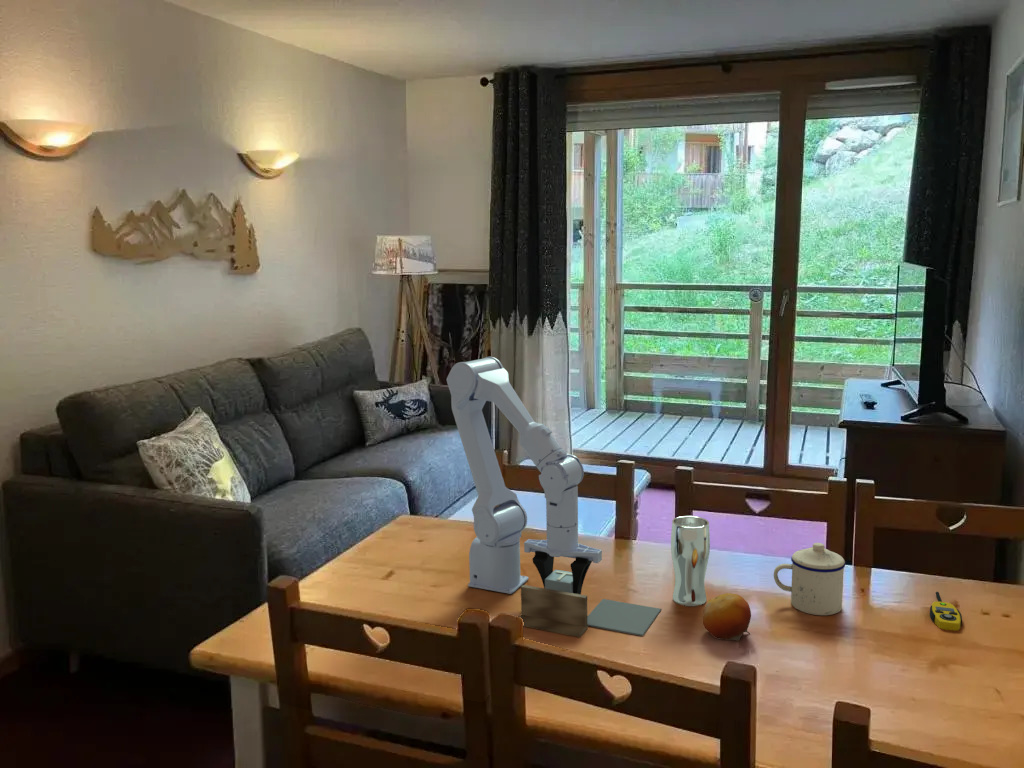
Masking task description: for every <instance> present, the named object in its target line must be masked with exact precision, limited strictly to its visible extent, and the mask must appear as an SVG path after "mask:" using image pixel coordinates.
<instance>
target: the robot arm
mask: <svg viewBox="0 0 1024 768" xmlns="http://www.w3.org/2000/svg"><path fill="white" fill-rule="evenodd" d="M509 376H510V374H509V372H508V371H507V369H505V367H504V366H503V364H502V362H501V361H500V360H499V359H498V358H496V357H494V356H486V357H484V358H480V359H474V360H468V361H460V362H457V363H455V364H453V366H452V367H451V369H450V371H449V373H448V375H447V376H446V383H447V386H448V389H449V393H450V399H451V401H450V403H451V411H452V414H453V417H454V421H455V424H456V428H457V430H458V434H459V437H460V440H461V443H462V448H463V450H464V453H465V456H466V460H467V463H468V466H469V469H470V472H471V476H472V479H473V483H474V486H475V489H476V492H477V498H476V500H475V502H474V504H473V506H472V508H471V511H472V515H473V530H474V533H475V536H476V537H475V538H473V540H472V541H471V544H470V547H469V553H468V554H469V555H468V559H469V583H468V585H467V586H468V587H470V588H474V589H475V588H476V589H480V590H482V589H483V590H486V591H493V592H498V593H503V594H508V595H509V594H510V595H512V594H513V593H515V592H516V591H517V590H518V589H519V588H521V586H522V585H525V583H527V581H528V580H529V576H526V575H521V545H520V544H521V543H520V542H521V537H522V531H524V530H525V529H526V527H527V524H528V515H527V512H526V510H525V508H524V507H523V505H522V504H521V502H520V500H519V498H518V496H517V493H515V492H514V491H513V490H511V489H509V488H508V487H506V484H505V481H504V477H503V475H502V471H501V467H500V465H499V460H498V458H497V455H496V451H495V449H494V446H493V442H492V439H491V435H490V432H489V428H488V426H487V422H486V419H485V417H484V413H483V409H484V406H485V404H486V403H487V402H492V403H493V404H494V405H495V406H496V407H497V409H499V410H500V412H501V413H502V414H503V416H505V418H506V419H507V420H508V421H509V422H510V424H511V425H512V426H513V427H514V428H515V430H517V432H518V433H519V438H518V442H519V443H518V444H519V445H520V446H521V448H522V449H523V451H525V453H526V454H527V456H528V457H529V459H530V460H531V461H532V463H533V464H534V465H535V467H536V468H537V469H538V471H539V472H540V474H539V475H538V480H539V483H540V486H541V488H543V489H542V490H543V492H544V498H545V506H546V507H545V508H546V509H545V512H546V518H545V519H546V539H530V538H528V539H527V540H526V541H524V542H523V547H524V549H523V550H524V553H529V554H530V553H531V552H532V553H534V556H533V557H532V563H533V565H534V567H535V568H536V570H537V571H538V574H539V576H540V579H541V582H542V585H543V588H545V579H546V578H547V577H548V576H549V575H550V574H551V573H552V572H553V571H554V562H555V558H560V557H563V558H570V559H575V560H574V561H572V562H571V563H570V570H571V572H572V576H573V593H574V594H580V595H582V589H583V586H584V581H585V579H586V578H585V577H586V575H587V573H588V571H589V568H590V566H591V564H592V563H594V564H599V563H600V562H601V561H602V560H603V558H602V557H603V550H602V549H600V548H595V547H591V546H588V545H584V544H582V543H579V505H578V504H579V493H578V492H579V491H578V489H579V487H578V485H579V484H580V483H581V482H582V481H583V478H584V475H585V474H584V473H585V472H584V466H583V464H582V462H581V461H580V459H579V457H577V456H576V455H574V454H572V453H571V454H570V453H568V451H566V450H565V449H563V448H562V446H561V445H560V444H559V442H558V441H557V439H556V438H555V437H554V436H553V434H552V433H553V431H552V430H551V429H550V427H549V426H546V425H545V424H544V423H540V422H535V421H534V419H533V417H532V415H531V414H530V413H529V411H528V409H527V408H526V406H525V404H524V403H523V402H522V400H521V398H520V397H519V395H518V394H517V392H516V391H515V389H514V388H513V386H512V384H511V383H510V379H509V378H510V377H509Z"/></svg>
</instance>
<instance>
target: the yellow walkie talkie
mask: <svg viewBox="0 0 1024 768" xmlns="http://www.w3.org/2000/svg"><path fill="white" fill-rule="evenodd" d="M935 596H936V599H937V601H933V602H932V604H931V605H930V607H929V618H930V620H931V621H932V623H934V624H935V626H936V627H938V628H939V629H941V630H946V631H955V632H956V631H959V630H960V629H961V626H962V622H963V617H962V614H961V611H960V610H959V608H956V606H955V605H953V604H952V603H950V602H947V601H946V602H945V601H942V598H941V595H940V592H939V591H936V592H935Z"/></svg>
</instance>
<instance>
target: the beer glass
mask: <svg viewBox="0 0 1024 768" xmlns="http://www.w3.org/2000/svg"><path fill="white" fill-rule="evenodd" d="M671 522H672V523H671V534H670V535H671V536H670V551H671V561H672V565H673V566H672V567H673V572H674V579H675V580H674V588H673V592H672V601H674V602H675V604H677V605H681V606H684V605H685V606H684V607H698V605H700V606H702V604H703V605H704V604H705V603H706V602H707V593H706V588H705V587H706V586H705V579H706V572H707V569H708V564H709V558H710V550H711V549H710V548H711V535H710V534H711V533H710V521H709V520H707V518H703V517H700V516H696V515H695V516H694V515H683V516H678V517H675V518H673V519H672V521H671Z"/></svg>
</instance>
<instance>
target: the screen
mask: <svg viewBox="0 0 1024 768" xmlns="http://www.w3.org/2000/svg"><path fill="white" fill-rule="evenodd" d="M520 598H521V599H520V605H521V606H520V607H521V614H520V615H519V617H521V618H522V619H523V622H524V626H523V627H525V626H526V627H525V628H529V627H531V628H530V629H534V628H535V629H536V630H540V631H541V630H542V631H546V632H549V633H555V634H561V635H566V636H571V637H576V638H581V637H582V636H583V635H584V633H585V632H586V631H587V630H588V626H587V616H588V595H587V594H586V595H585V594H581V595H580V594H574V593H569V592H563V591H557V590H551V589H545V588H544V587H539V586H533V585H527V584H523V585H521V586H520ZM527 626H528V627H527ZM535 629H534V630H535Z"/></svg>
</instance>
